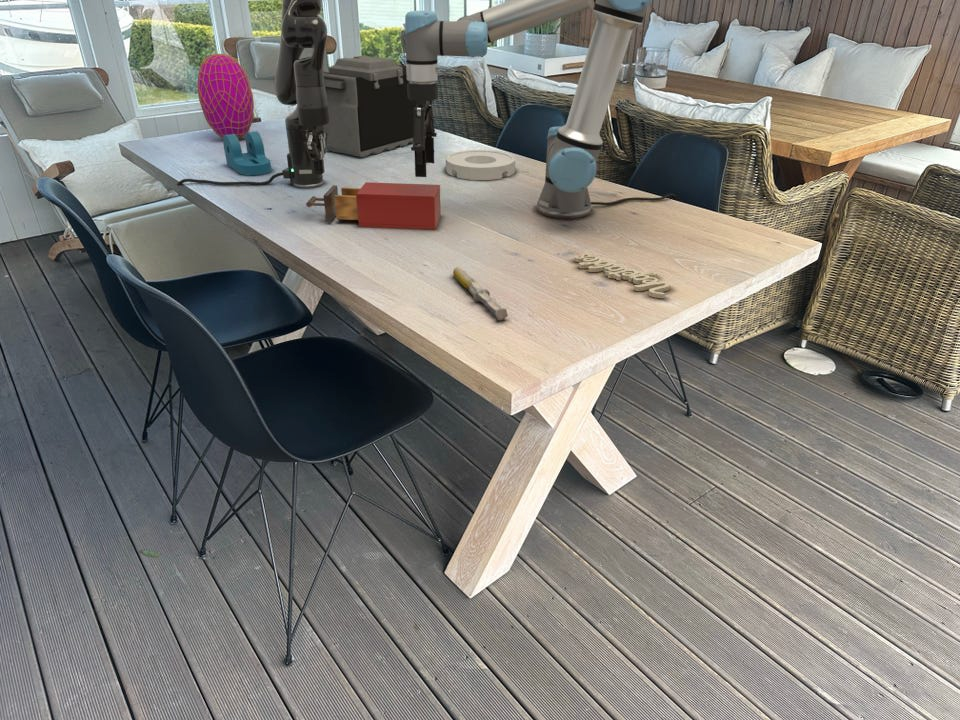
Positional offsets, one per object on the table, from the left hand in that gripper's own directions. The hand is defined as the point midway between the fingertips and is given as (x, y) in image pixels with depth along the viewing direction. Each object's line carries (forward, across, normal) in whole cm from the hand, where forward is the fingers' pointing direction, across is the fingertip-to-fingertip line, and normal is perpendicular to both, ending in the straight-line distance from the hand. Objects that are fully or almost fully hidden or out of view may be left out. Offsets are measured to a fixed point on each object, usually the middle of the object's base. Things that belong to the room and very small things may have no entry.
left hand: (319, 173), depth 181 cm
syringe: (+12, -45, -46) cm, 66 cm away
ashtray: (+12, +53, -38) cm, 67 cm away
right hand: (-2, 0, -28) cm, 28 cm away
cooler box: (+12, +82, +6) cm, 84 cm away
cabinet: (+12, 0, -21) cm, 24 cm away
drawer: (+11, 0, -9) cm, 14 cm away
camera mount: (+12, +46, +38) cm, 61 cm away
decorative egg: (+12, +86, +61) cm, 107 cm away
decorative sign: (+12, -30, -78) cm, 84 cm away
